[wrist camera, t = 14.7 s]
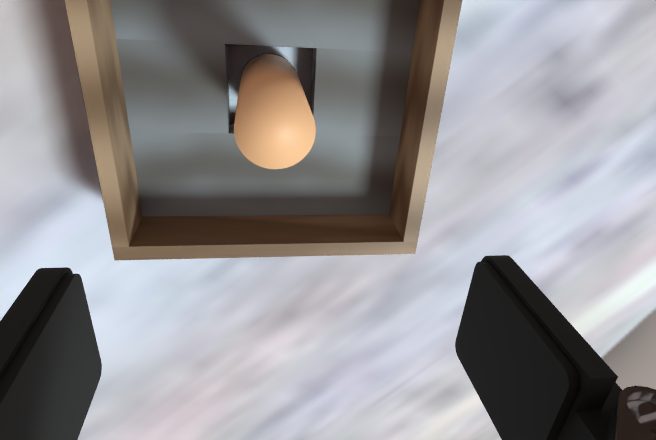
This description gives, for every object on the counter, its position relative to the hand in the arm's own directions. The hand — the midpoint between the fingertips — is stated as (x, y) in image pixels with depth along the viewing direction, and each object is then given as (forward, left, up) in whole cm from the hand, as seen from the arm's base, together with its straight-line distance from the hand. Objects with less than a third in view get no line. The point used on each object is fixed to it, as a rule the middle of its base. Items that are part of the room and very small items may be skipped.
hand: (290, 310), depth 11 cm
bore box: (0, 0, -23) cm, 23 cm away
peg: (0, 0, -23) cm, 23 cm away
